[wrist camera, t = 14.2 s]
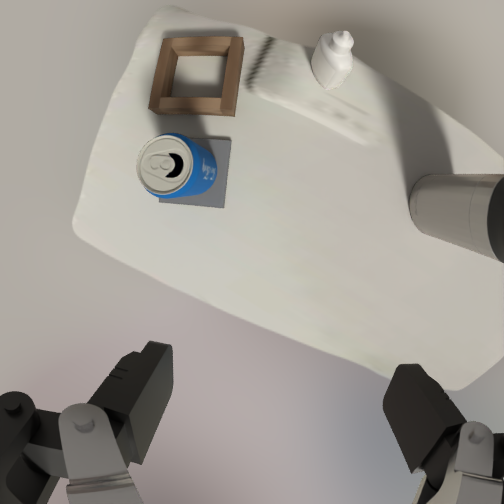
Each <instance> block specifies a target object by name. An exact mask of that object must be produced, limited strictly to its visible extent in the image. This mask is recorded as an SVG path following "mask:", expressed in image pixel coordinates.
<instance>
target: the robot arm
mask: <svg viewBox="0 0 504 504" xmlns="http://www.w3.org/2000/svg"><path fill="white" fill-rule="evenodd" d="M409 207H410V214H411V217H412V220H413V222H414V224H415V225H416V227H417V228H418V229H419V230H420V231H421V232H422V233H425V234H427V235H429V236H432V237H435V238H438V239H441V240H444V241H446V242H449V243H452V244H455V245H458V246H461V247H463V248H466V249H469V250H471V251H474V252H477V253H479V254H482V255H485V256H487V257H490V258H493V259H495V260H498V261H500V262H502V263H504V174H437V175H427V176H424V177H422V178H421V179H420V180H419V181H418V182H417V183H416V184H415V186H414V187H413V190H412V192H411V196H410V204H409ZM172 389H173V350H172V346H171V345H169V344H164V343H159V342H154V341H149V342H148V343H147V345H146V346H145V347H144V349H143V350H142V352H141V353H139V352H134V351H133V352H131V353H130V354H128V355H126V356H124V357H122V358H121V360H120V361H119V362H118V364H117V365H116V366H115V369H113V370H112V371H111V372H110V374H109V376H107V377H106V379H105V380H104V381H103V383H102V384H101V385H100V387H99V388H98V389H97V391H96V392H95V393H94V394H93V396H92V397H91V399H90V400H89V401H88V402H87V403H80V404H74V405H71V406H69V407H67V408H66V409H64V410H63V411H62V413H56V412H50V411H45V410H40V409H36V407H35V405H34V403H33V401H32V399H31V398H30V397H29V396H28V395H27V394H25V393H22V392H17V391H12V392H7V393H5V394H3V395H1V396H0V504H47V502H48V500H49V498H50V496H51V494H52V492H53V490H54V488H55V486H56V484H57V482H58V480H59V479H60V477H63V478H68V479H69V482H70V484H69V485H67V486H66V492H67V497H68V500H69V503H70V504H144V503H143V501H142V499H141V497H140V495H139V493H138V491H137V488H136V487H135V484H134V482H133V480H132V478H131V477H130V475H129V472H128V470H127V468H128V466H129V464H130V462H134V463H137V464H140V465H142V463H143V460H144V458H145V456H146V453H147V451H148V448H149V446H150V444H151V441H152V439H153V437H154V434H155V432H156V430H157V427H158V425H159V422H160V420H161V418H162V415H163V413H164V411H165V408H166V406H167V404H168V401H169V399H170V397H171V393H172ZM383 411H384V413H385V415H386V417H387V420H388V422H389V424H390V426H391V428H392V431H393V433H394V435H395V437H396V439H397V442H398V444H399V446H400V448H401V451H402V453H403V455H404V457H405V460H406V462H407V464H408V467H409V469H410V472H411V474H414V473H418V472H422V471H425V473H426V475H425V476H424V477H423V478H422V480H421V482H420V485H419V487H418V490H417V493H416V495H415V498H414V500H413V503H412V504H504V480H503V477H504V433H495V434H493V433H492V431H491V430H490V429H489V428H488V427H487V426H485V425H484V424H482V423H480V422H476V421H471V422H467V421H466V420H465V418H464V417H463V415H462V414H461V413H460V411H459V410H458V408H457V407H456V406H455V404H454V403H453V402H452V401H451V400H449V396H448V395H447V394H446V393H444V390H443V388H442V387H441V386H440V385H439V383H438V382H437V381H435V380H434V379H432V378H431V377H430V376H428V375H427V373H426V372H425V371H424V369H423V368H422V367H421V366H420V365H419V364H400V365H399V366H398V367H397V368H396V370H395V373H394V375H393V377H392V380H391V382H390V385H389V387H388V389H387V391H386V394H385V396H384V399H383Z"/></svg>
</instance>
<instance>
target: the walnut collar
mask: <svg viewBox="0 0 504 504" xmlns="http://www.w3.org/2000/svg"><path fill="white" fill-rule="evenodd" d="M244 49H245V48H244V42H243V37H220V36H209V37H181V38H167V39H163V42H162V46H161V50H160V54H159V58H158V63H157V67H156V71H155V76H154V81H153V86H152V91H151V96H150V102H149V107H148V109H150V110H151V111H153V112H155V113H156V114H191V115H217V116H233V117H235V111H236V103H237V96H238V89H239V82H240V75H241V68H242V62H243V55H244ZM178 56H228V59H227V65H226V71H225V77H224V83H223V90H222V97H221V98H207V97H170V95H171V90H172V85H173V79H174V74H175V69H176V65H177V60H178Z"/></svg>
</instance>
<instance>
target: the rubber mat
mask: <svg viewBox="0 0 504 504" xmlns="http://www.w3.org/2000/svg"><path fill="white" fill-rule="evenodd" d="M189 139H190V140H192V141H193V142H195V143H197V144H198V145H200V146H201V147H203V148H204V149H206V150H208V151H209V152H210V153H211V154H212V155H213V157H214V158H215V160H216V163H217V176H216V179H215V181H214V183H213V185H212V186H211V187H210V188H209V189H208V190H207V191H205V192H204V193H202V194H199V195H193V196H186V197H178V198H170V199H164V198H159V202H161V203H173V204H184V205H195V206H205V207H215V208H224V203H225V194H226V185H227V176H228V167H229V158H230V150H231V142H232V141H230V140H216V139H199V138H189Z"/></svg>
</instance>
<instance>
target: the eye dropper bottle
mask: <svg viewBox="0 0 504 504" xmlns="http://www.w3.org/2000/svg"><path fill="white" fill-rule="evenodd" d="M353 44H354V40H353V38H352V36H351V35H350V33H349V32H348V31H337V32H335V33H328V34H323V35H321V37H320V39H319V42H318V43H317V46H316V48H315V51H314V54H313V56H312V60H311V65H312V70H313V73H314V76H315V78H316V79H317V81H318V82H319V84H320V85H321V86H322V87H323V88H324V89H327V90H329V89H334V88H338V87H339V86H340V85H341V83H342V82H343V81H344V79H345V78H346V77H347V75H348V74H349V73H350V71H351V69H352V67H353V58H352V53H351V50H350V49H351V47H352V46H353Z"/></svg>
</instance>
